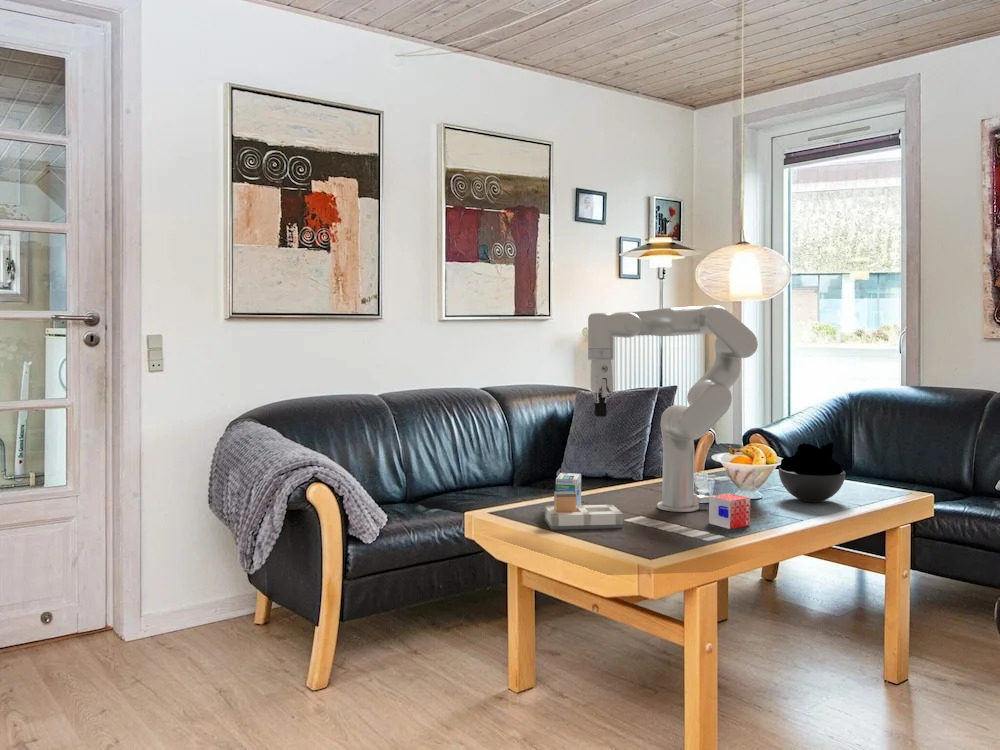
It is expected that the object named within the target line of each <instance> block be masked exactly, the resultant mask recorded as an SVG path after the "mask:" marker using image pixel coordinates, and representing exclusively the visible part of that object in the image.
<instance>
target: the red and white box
mask: <svg viewBox="0 0 1000 750" xmlns="http://www.w3.org/2000/svg"><path fill="white" fill-rule="evenodd" d="M708 496H709V495H708ZM708 504H709V505H708V506H709V507H708V509H709V511H708V523H709V524H710V525H713V526H714V525H715V526H718V527H722V528H724V529H728V530H730V529H731V530H732V529H737V528H742V527H743V528H744V527H749V526H751V525H750V524H751V497H747V496H743V495H739V494H736V493H735V494H734V493H730V492H729V493H728V492H727V493H721V494H714V495H710V496H709V502H708Z"/></svg>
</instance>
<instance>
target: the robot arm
mask: <svg viewBox="0 0 1000 750" xmlns="http://www.w3.org/2000/svg"><path fill="white" fill-rule="evenodd" d="M705 334H706V335H707V334H708V335H709V334H710V335H711V334H712V335H714V336H715V337H716V338H715V341H714V348H715V349H714V350H715V359H714V362H713V364H712V366H710V368H709V369H708V370H707V371H706V372H705V373H704V374H703V375H702V376H701V377H700V378H699V379H698V380H697V382H695V383H694V385H692V387H691V388H690V389H689V391H688V392H687V395H686V396H687V397H686V399H687V403H688V405H689V406H686V405H681V404H674V405H670V406H669V407H667V408H666V409H665V410H664V411H663V412H662V414H661V417H660V430H661V438H662V482H661V483H662V488H661V489H662V492H661V493H662V496H661V501H659V502H657V504H656V507H657V509H659V510H662V511H667V512H672V513H673V512H674V513H688V512H689V513H690V512H695V511H698V510H699V509H700V505H699V504H700V503H709V495H702V494H699V495H698V494H696V493H695V443H694V441H695V440H699V439H700V438H702V437H703V436H705V434H707V432H709V431H710V430H711V429H712V427H714V426H715V425H716V423H718V422H719V420H721V418H722V417H724V415H726V413H727V412H728V410H729V409H730V407H731V404H732V400H733V399H732V398H733V397H732V393H731V390H730V389H731V388H732V386H733V385H734V384H735V383H736V381H737V380H738V378H739V377H740V373H741V367H742V359H746V358H751V357H752V356H753V355H754V354H755V353H756V352H757V349H758V345H759V344H758V339H757V337H756V335H755V333H754V332H753V331H752V330H751V329H750V328H749V327H748V326H747V325H745V324H744V323H743V322H742V321H741V320H739V319H738V318H737V317H736V315H734V314H733V313H732V312H730V311H729V310H728V309H727V308H725V307H723V306H721V305H700V306H699V305H698V306H697V305H696V306H681V307H663V308H657V309H651V310H649V309H648V310H641V311H640V310H639V311H622V312H621V311H619V312H614V313H609V312H595V313H594V312H593V313H590V314H589V315H588V318H587V360H589V361H591V362H590V390H591V391H592V392H593V393H594V416H595V417H597V418H599V417H600V418H601V417H607V396H608V394H607V393H609V394H612V393H613V392H614V377H613V365H612V364H613V363H612V360H614V339H615V338H628V339H629V338H633V337H635V336H656V337H675V336H676V337H678V336H689V335H705ZM614 337H615V338H614Z"/></svg>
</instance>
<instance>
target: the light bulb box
mask: <svg viewBox="0 0 1000 750" xmlns="http://www.w3.org/2000/svg"><path fill="white" fill-rule="evenodd" d="M559 491H574V493H575V494H576V505H582V474H581V473H568V472H560V473H559V474H558V475H557V477H556V478H555V492H559Z"/></svg>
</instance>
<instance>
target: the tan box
mask: <svg viewBox="0 0 1000 750" xmlns="http://www.w3.org/2000/svg"><path fill="white" fill-rule="evenodd" d="M553 502H554V503H553V506H554V510H555V511H556V512H557V513H564V512H576V494H575V493H574V491H559V492H556V491H554V492H553Z"/></svg>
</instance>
